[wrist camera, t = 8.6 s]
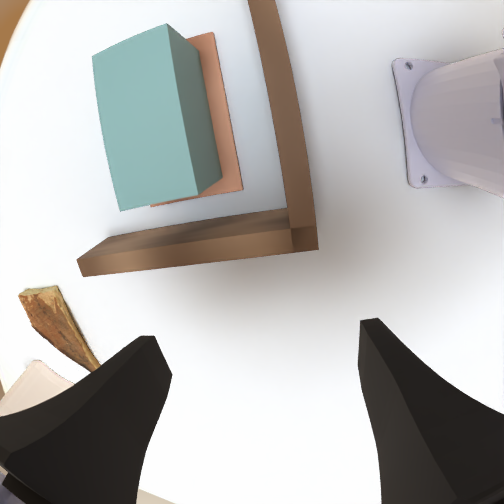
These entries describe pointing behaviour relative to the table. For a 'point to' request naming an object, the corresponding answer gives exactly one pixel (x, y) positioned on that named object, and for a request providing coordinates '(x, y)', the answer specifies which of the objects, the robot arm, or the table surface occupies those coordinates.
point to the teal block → (155, 118)
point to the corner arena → (231, 177)
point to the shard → (57, 324)
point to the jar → (33, 388)
